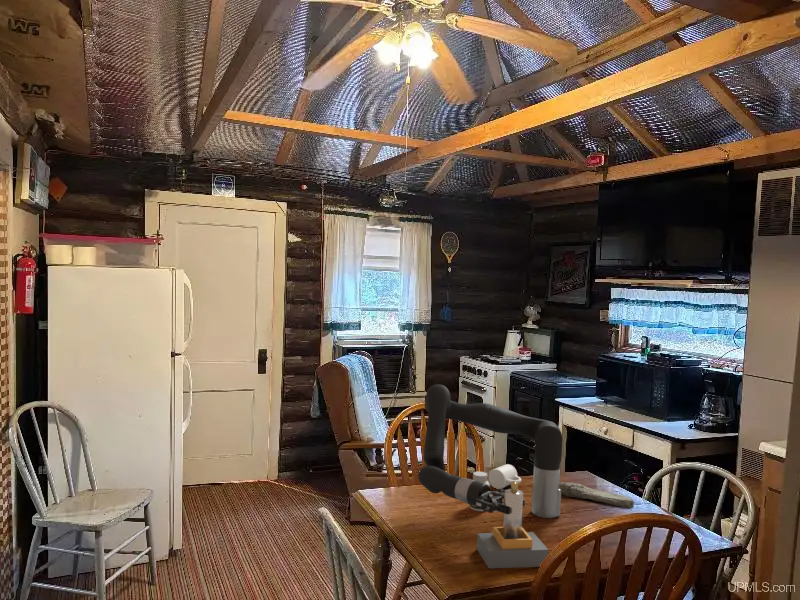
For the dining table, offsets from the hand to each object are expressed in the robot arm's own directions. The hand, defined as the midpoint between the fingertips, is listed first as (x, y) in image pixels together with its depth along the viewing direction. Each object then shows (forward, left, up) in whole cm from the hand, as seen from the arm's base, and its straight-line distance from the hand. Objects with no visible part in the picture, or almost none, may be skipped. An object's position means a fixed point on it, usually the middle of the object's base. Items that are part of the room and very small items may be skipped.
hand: (517, 507), depth 172 cm
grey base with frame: (+1, -1, -16) cm, 16 cm away
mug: (-18, -60, -16) cm, 65 cm away
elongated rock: (-47, -48, -16) cm, 69 cm away
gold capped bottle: (+1, -1, -11) cm, 11 cm away
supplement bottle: (0, -39, -16) cm, 42 cm away
